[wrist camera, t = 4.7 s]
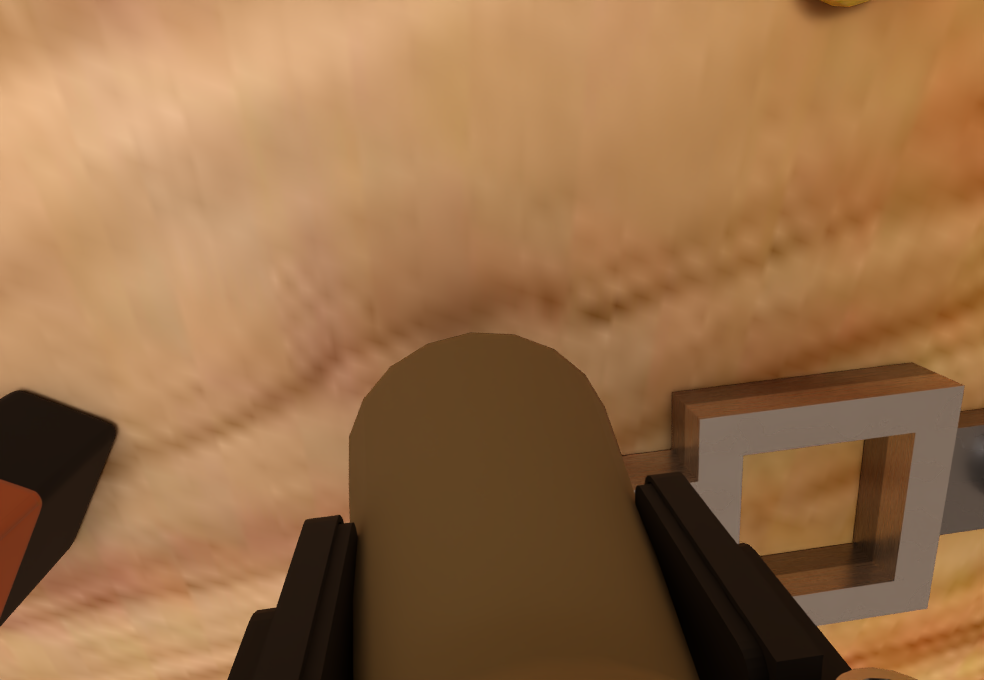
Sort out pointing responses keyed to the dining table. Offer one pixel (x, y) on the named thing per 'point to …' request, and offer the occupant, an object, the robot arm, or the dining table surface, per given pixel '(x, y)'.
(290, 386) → the dining table surface
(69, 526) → the battery
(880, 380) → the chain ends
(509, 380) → the cork
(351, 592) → the robot arm
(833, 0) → the chocolate bunny
